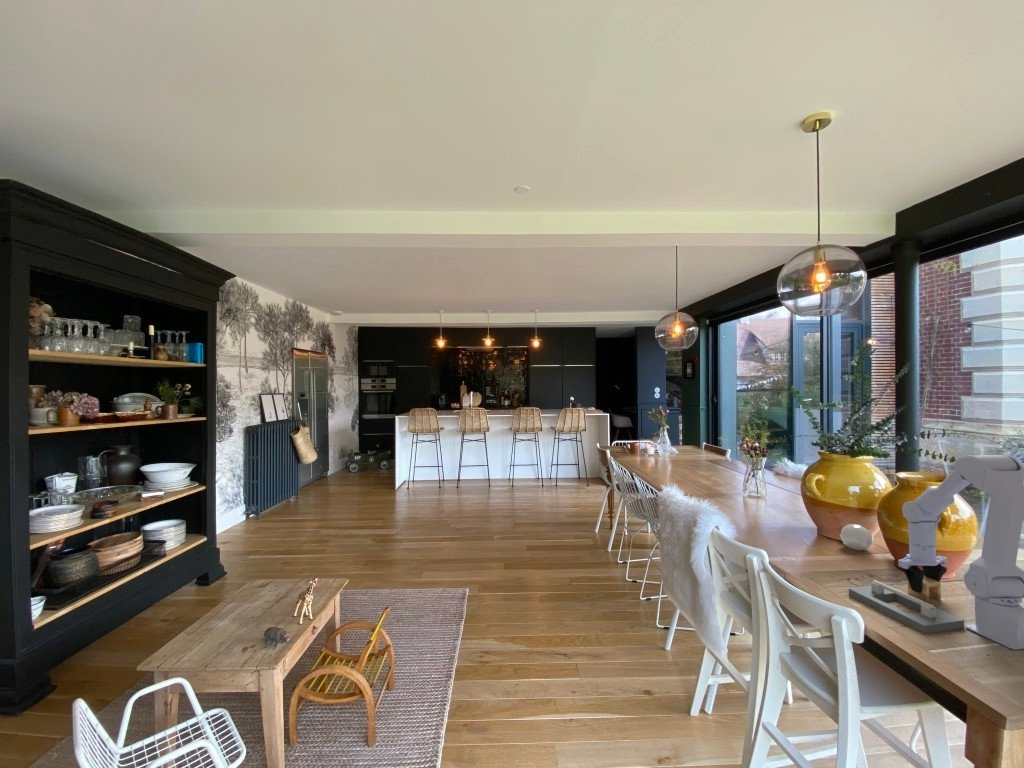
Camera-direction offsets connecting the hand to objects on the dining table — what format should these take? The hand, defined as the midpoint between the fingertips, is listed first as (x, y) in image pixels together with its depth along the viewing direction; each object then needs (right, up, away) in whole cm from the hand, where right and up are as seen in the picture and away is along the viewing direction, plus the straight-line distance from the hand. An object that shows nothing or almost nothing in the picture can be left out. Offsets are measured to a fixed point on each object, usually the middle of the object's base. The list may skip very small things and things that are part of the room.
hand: (924, 590), depth 123 cm
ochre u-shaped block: (0, -2, 0) cm, 2 cm away
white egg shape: (+10, -2, +38) cm, 39 cm away
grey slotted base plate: (-13, -2, -7) cm, 15 cm away
